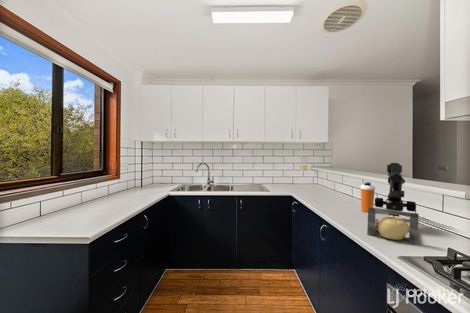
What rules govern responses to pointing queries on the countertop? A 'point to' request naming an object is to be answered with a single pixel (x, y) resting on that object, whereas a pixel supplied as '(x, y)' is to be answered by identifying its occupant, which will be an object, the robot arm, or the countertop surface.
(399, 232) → the pale yellow round lump
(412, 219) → the channel
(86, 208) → the countertop surface
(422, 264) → the countertop surface
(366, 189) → the shaker bottle
